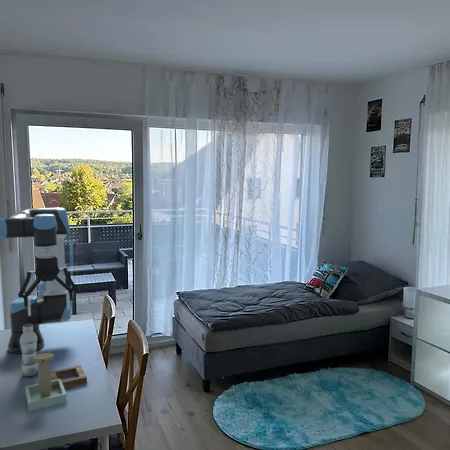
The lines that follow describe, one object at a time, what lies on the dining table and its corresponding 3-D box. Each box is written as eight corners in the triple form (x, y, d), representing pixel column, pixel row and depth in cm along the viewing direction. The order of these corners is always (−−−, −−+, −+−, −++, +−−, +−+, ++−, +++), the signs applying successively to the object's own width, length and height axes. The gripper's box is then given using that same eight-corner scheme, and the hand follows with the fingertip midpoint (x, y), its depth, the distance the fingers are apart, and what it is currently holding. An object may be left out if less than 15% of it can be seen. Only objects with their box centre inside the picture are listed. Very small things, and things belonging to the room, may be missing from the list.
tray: (25, 394, 150) (25, 386, 150) (60, 386, 156) (60, 378, 156) (28, 411, 139) (28, 403, 139) (66, 402, 145) (66, 393, 145)
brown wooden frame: (48, 378, 163) (48, 372, 163) (80, 371, 169) (80, 365, 169) (53, 391, 153) (52, 384, 152) (87, 383, 159) (86, 377, 158)
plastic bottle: (19, 379, 162) (16, 329, 160) (23, 371, 168) (20, 323, 166) (37, 377, 164) (35, 328, 162) (40, 369, 170) (38, 322, 168)
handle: (55, 398, 146) (53, 357, 145) (35, 401, 144) (32, 360, 143) (55, 392, 151) (54, 352, 149) (36, 394, 149) (34, 354, 147)
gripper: (9, 261, 144) (12, 320, 147) (83, 254, 157) (85, 309, 159) (8, 257, 151) (11, 314, 154) (79, 251, 163) (81, 303, 166)
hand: (49, 311), depth 157 cm, fingers open, 13 cm apart
